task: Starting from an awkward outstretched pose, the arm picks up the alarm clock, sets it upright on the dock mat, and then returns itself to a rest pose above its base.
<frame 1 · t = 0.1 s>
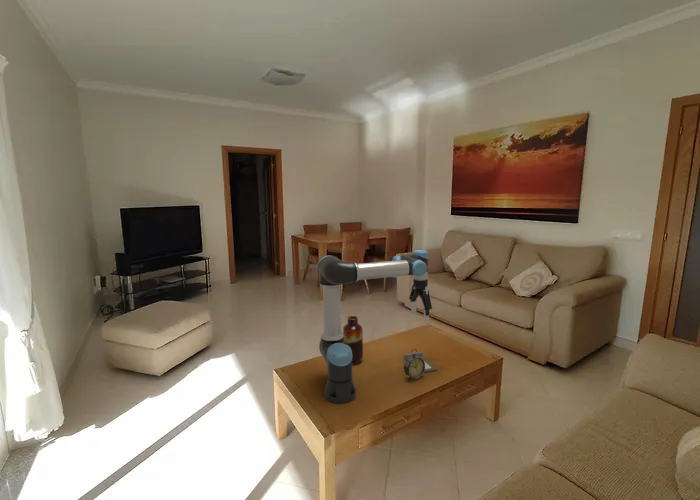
hand: (419, 316, 184), 28 cm above the table, fingers open, 13 cm apart
alarm clock: (413, 378, 175), on the table
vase: (353, 361, 194), on the table
dock mat: (420, 365, 188), on the table
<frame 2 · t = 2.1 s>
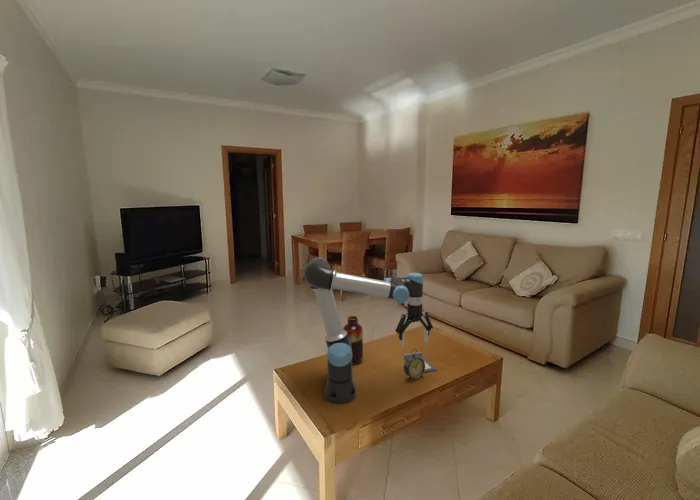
hand: (414, 343, 172), 19 cm above the table, fingers open, 13 cm apart
nothing on the table moved.
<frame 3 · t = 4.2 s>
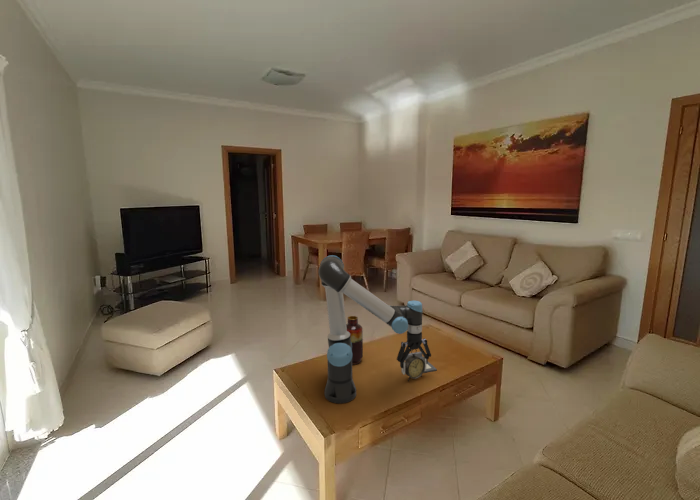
hand: (413, 371, 174), 4 cm above the table, fingers closed on alarm clock, 11 cm apart
alarm clock: (413, 378, 175), on the table, touching gripper
everything else where it was.
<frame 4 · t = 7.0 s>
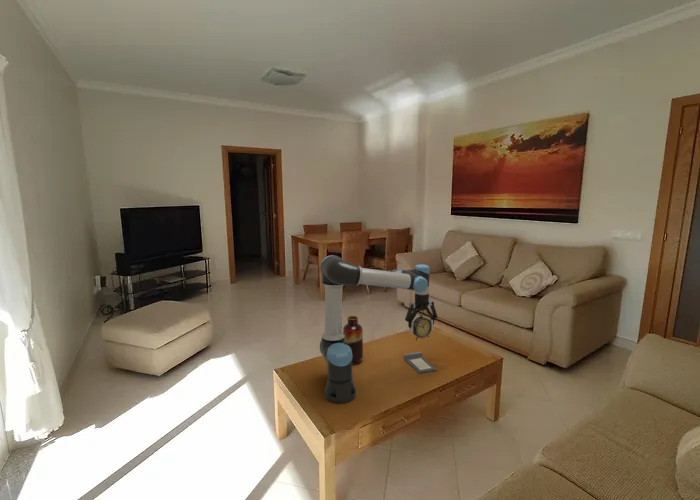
hand: (421, 331, 185), 20 cm above the table, fingers closed on alarm clock, 11 cm apart
alarm clock: (420, 338, 186), point 16 cm above the table, touching gripper
everything else where it was.
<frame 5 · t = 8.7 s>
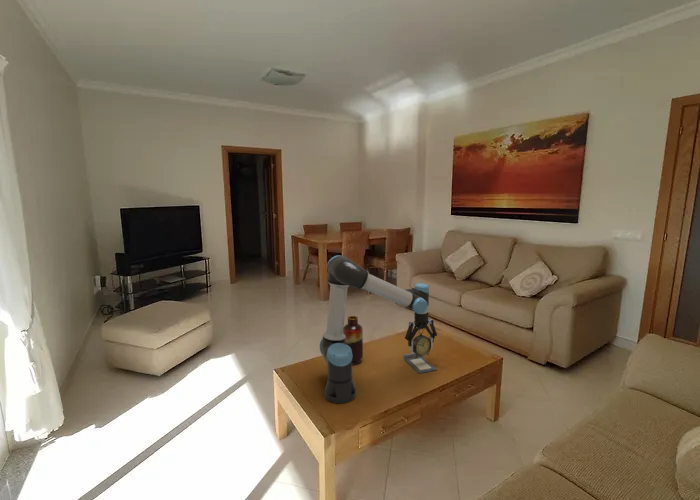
hand: (420, 349, 187), 9 cm above the table, fingers closed on alarm clock, 11 cm apart
alarm clock: (420, 356, 187), point 5 cm above the table, touching gripper
everything else where it was.
when the fingers open (6 cm above the table, at t = 10.1 s): alarm clock drops 1 cm, resting on dock mat.
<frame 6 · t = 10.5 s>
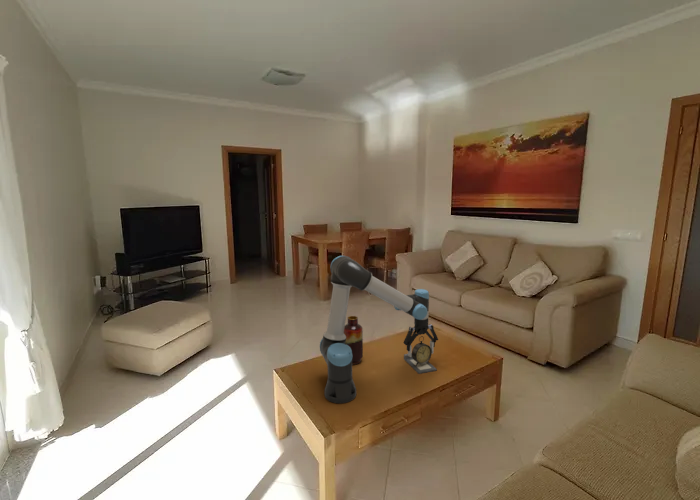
hand: (420, 354, 187), 7 cm above the table, fingers open, 13 cm apart
alarm clock: (421, 364, 188), point 1 cm above the table, touching dock mat
everything else where it was.
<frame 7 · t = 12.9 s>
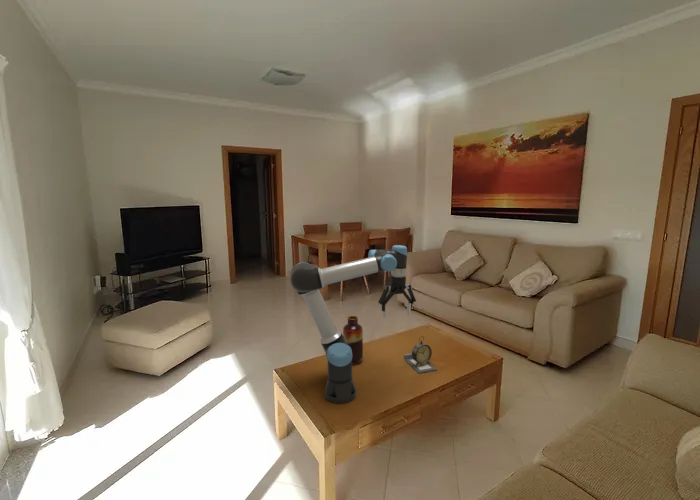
hand: (396, 316, 174), 32 cm above the table, fingers open, 13 cm apart
nothing on the table moved.
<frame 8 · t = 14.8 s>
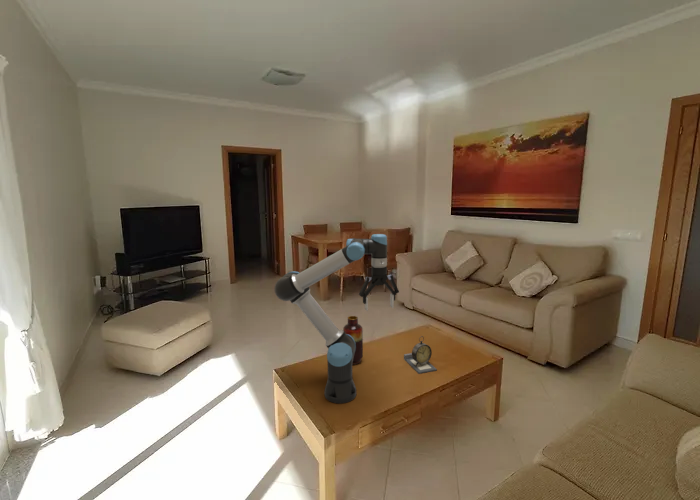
hand: (379, 308, 166), 39 cm above the table, fingers open, 13 cm apart
nothing on the table moved.
at the end: alarm clock inside the target area on the dock mat (0.3 cm from its centre), point 0.7 cm above the dock mat's base; alarm clock tilted 0°; the gripper is holding nothing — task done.
